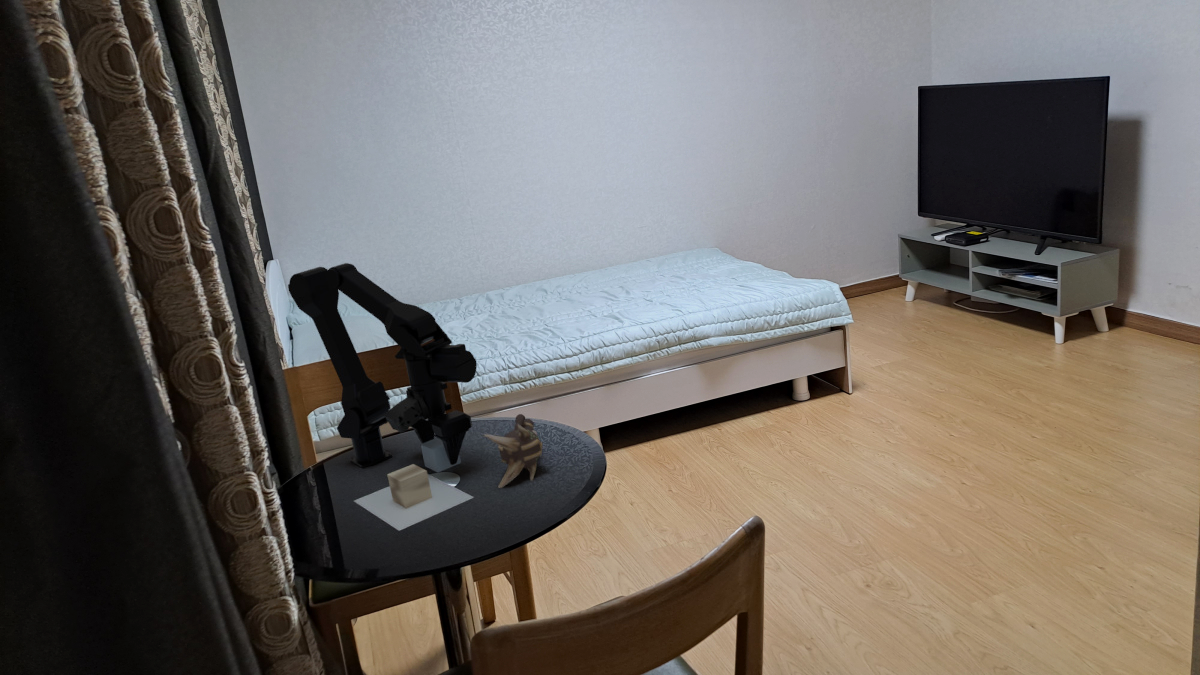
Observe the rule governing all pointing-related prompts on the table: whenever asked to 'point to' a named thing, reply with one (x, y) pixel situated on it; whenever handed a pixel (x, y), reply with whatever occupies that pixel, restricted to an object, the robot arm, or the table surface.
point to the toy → (519, 449)
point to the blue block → (436, 455)
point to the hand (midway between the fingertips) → (441, 458)
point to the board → (405, 517)
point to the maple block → (409, 486)
